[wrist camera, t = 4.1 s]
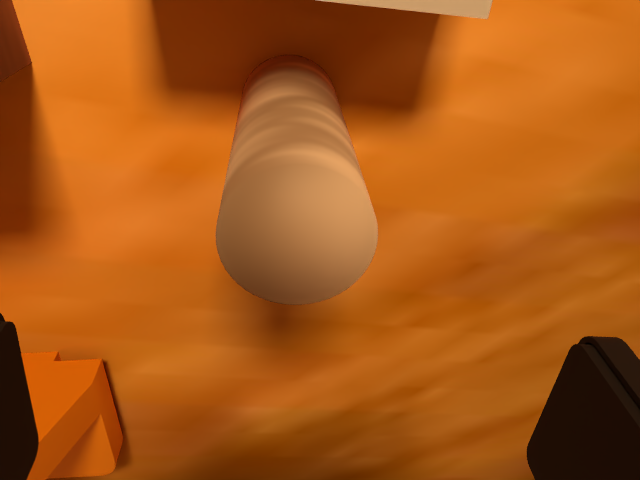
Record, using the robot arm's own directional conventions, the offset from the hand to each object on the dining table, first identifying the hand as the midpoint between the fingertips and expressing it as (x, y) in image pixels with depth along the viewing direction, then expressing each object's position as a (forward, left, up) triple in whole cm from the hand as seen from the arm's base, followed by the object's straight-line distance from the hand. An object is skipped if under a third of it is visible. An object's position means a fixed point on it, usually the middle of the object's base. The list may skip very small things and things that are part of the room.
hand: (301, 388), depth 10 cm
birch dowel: (0, 0, -18) cm, 18 cm away
